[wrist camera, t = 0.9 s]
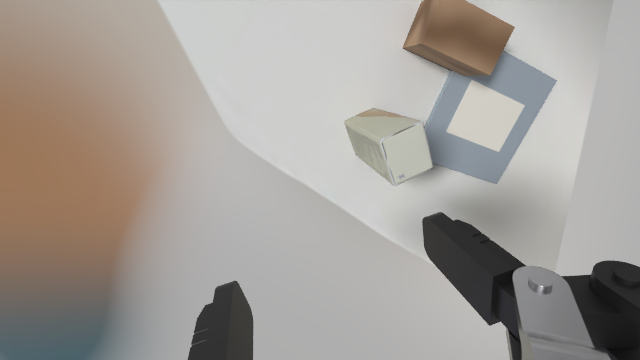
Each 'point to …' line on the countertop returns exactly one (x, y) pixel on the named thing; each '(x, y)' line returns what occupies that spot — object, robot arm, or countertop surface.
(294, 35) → the countertop surface
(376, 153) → the box
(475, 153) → the plate
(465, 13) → the walnut slab
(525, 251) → the countertop surface
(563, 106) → the countertop surface
